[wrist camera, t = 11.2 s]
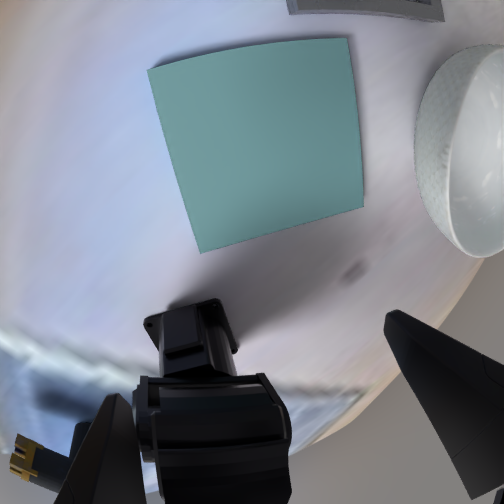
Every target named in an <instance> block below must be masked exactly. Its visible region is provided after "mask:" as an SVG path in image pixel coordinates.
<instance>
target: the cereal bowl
mask: <svg viewBox="0 0 504 504" xmlns="http://www.w3.org/2000/svg"><path fill="white" fill-rule="evenodd" d="M414 136H415V139H414V164H415V172H416V179H417V182H418V188H419V191H420V195H421V198H422V200H423V204H424V206H425V207H426V210H427V212H428V214H429V215H430V217H431V219H432V220H433V222H434V223H435V224H436V226H437V227H438V229H439V230H440V231H441V232H442V234H444V235H445V236H446V237H447V239H448V240H449V241H451V242H452V243H453V244H454V245H455V246H456V247H457V248H458V249H459V250H461V251H462V252H464V253H465V254H467V255H469V256H472V257H476V258H485V257H488V256H492V255H494V254H496V253H498V252H500V251H501V250H503V249H504V46H502V45H490V44H489V45H480V46H474V47H471V48H466V49H465V50H462V51H459V52H458V53H457V54H454V55H452V57H451V58H449V59H447V60H446V62H445V63H444V64H442V65H441V67H440V69H438V70H437V71H436V72H435V75H434V77H433V78H432V79H431V81H430V83H429V85H428V87H427V88H426V92H425V93H424V96H423V99H422V101H421V105H420V109H419V111H418V116H417V123H416V127H415V135H414Z"/></svg>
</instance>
